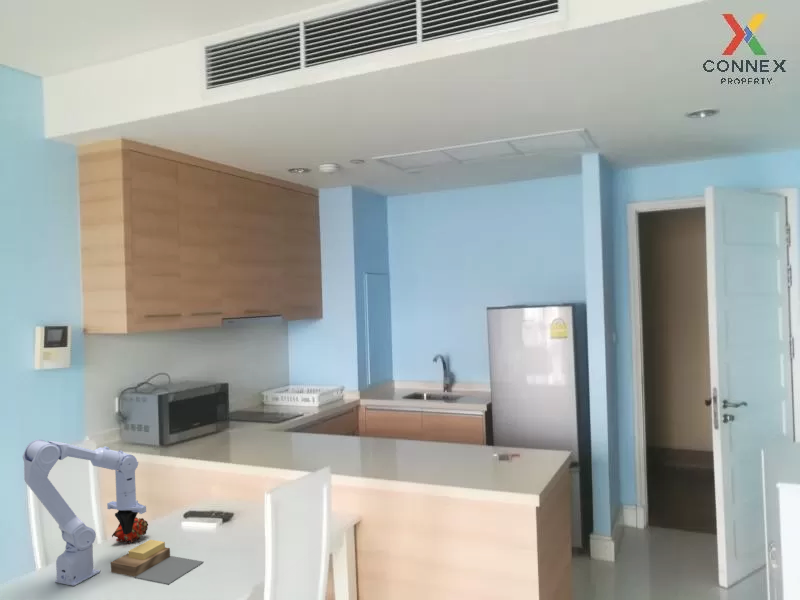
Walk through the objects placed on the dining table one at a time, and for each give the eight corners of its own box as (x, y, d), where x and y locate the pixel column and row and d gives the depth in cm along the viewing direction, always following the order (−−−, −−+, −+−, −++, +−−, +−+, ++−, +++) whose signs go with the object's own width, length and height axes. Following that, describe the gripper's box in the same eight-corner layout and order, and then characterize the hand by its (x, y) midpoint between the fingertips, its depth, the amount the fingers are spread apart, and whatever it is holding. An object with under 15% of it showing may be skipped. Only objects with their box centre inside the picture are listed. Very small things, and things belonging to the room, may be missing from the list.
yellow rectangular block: (143, 560, 184) (143, 553, 184) (128, 557, 186) (128, 551, 186) (165, 548, 192) (164, 541, 192) (150, 545, 194) (150, 539, 194)
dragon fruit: (152, 540, 210) (116, 555, 203) (144, 521, 215) (108, 535, 208) (152, 526, 205) (115, 540, 198) (144, 507, 210) (107, 520, 203)
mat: (168, 584, 174) (168, 583, 174) (134, 577, 179) (134, 576, 179) (203, 562, 188) (203, 561, 188) (171, 556, 192) (171, 555, 192)
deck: (135, 577, 179) (135, 567, 179) (111, 572, 183) (110, 562, 183) (170, 557, 192) (169, 548, 192) (146, 553, 196) (145, 544, 196)
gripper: (152, 489, 193) (154, 530, 193) (119, 484, 198) (120, 525, 198) (135, 496, 186) (137, 539, 186) (101, 491, 192) (103, 533, 192)
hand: (127, 533), depth 192 cm, fingers closed
